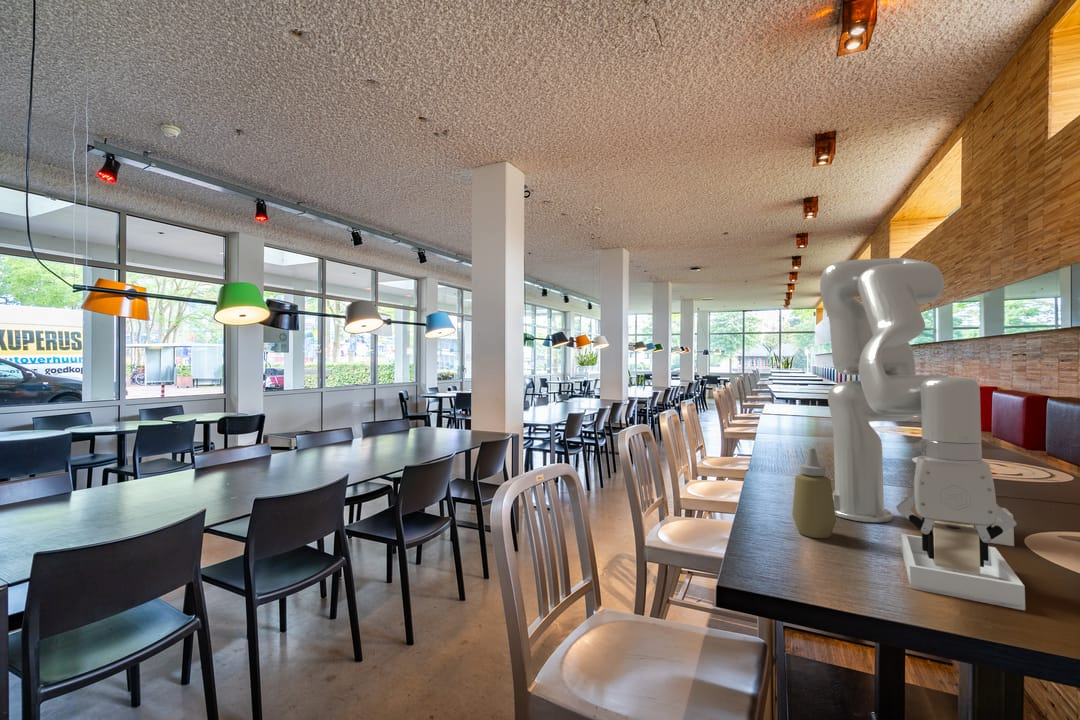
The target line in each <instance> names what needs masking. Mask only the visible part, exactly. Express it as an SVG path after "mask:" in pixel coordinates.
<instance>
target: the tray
mask: <svg viewBox="0 0 1080 720" xmlns="http://www.w3.org/2000/svg"><path fill="white" fill-rule="evenodd" d="M900 536H901V537H900V538H901V541H900V542H901V554H902V558H903V564H904V568H905V570H906V575H907V580H908V583H909V588H910V589H914V590H917V591H918V590H919V591H921V592H922V591H923V592H927V593H928V592H929V593H933V594H939V595H944V596H949V597H955V598H958V599H959V598H960V599H964V600H968V601H974V602H979V603H985V604H990V605H995V606H1000V607H1005V608H1009V609H1010V608H1011V609H1015V610H1020V611H1026V590H1025V588H1026V587H1025V585H1024V584H1023V582H1022V580H1020V577H1018V576H1017V574H1016V572H1015V571H1014V570H1013V569H1012V568H1011V566H1010V565H1009V563H1008V562H1007V561H1006V559H1005V558H1004V557H1003V556H1002V554H1001V553H1000V551H999V550H998V549H997V548H996V546H995V547H994V546H989V545H988V557H989V560H988V561H984V567H980V573H974V572H968V571H963V570H957V569H951V568H945V567H939V566H935V564H934V561H933V559H930V558H929V557H928V554H927V551H923V549H922V536H919V535H914V534H906V533H901V534H900Z"/></svg>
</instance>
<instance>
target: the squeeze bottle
mask: <svg viewBox="0 0 1080 720" xmlns="http://www.w3.org/2000/svg"><path fill="white" fill-rule="evenodd" d="M799 472H800V473H799V474H797V475H795V480H794V491H793V492H794V493H793V501H792V502H793V504H792V505H793V506H792V518H793V521H794V523H795V527H796V529H797V532H798V533H799V534H801V535H803V536H806V537H808V538H809V537H810V538H813V539H814V538H815V539H828V538H831V536H832V534H833V531H834V528H835V525H836V522H837V516H836V515H835V508H834V501H833V494H832V493H833V488H832V487H833V486H832V481H831V479H830V478H829V477H828V476H826V466H824V465H821V464H820V463H819V459H818V454H817V450H816V448H812V447H809V448H808V451H807V455H806V460H805V463H803V464H800V465H799Z"/></svg>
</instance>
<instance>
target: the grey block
mask: <svg viewBox="0 0 1080 720" xmlns="http://www.w3.org/2000/svg"><path fill="white" fill-rule="evenodd" d="M1001 508H1002V509H1003V510H1004V511H1005V512H1006V513H1007V514H1008V515H1009V516H1010V517H1011V518H1012V519H1014V514H1012V513H1011V512H1010V511H1009V510H1008V509H1007V508H1006V507H1001ZM999 520H1000V518H999V517H998V516H997V522H998V521H999ZM997 522H996V523H997ZM972 526H973V527H974V525H972ZM985 527H986V528H987V527H988V526H985ZM1014 527H1015V526H1014ZM1014 527H1012V528H1010V529H1008V530H1006V531H1004V532H1003V533H1002V534H1000V535H998V536H997V537H995V538H994V539H992V540H991V542H990V543H989V544H995V545H1004V546H1009V547H1010V546H1011V547H1015V536H1014V535H1015V534H1014V533H1015V531H1014ZM974 529H975V528H974Z"/></svg>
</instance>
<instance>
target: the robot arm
mask: <svg viewBox="0 0 1080 720" xmlns="http://www.w3.org/2000/svg"><path fill="white" fill-rule="evenodd" d="M944 279H945V278H944V276H943V274H942V272H941V270H940V269H939V268H938V267H937V266H936V265H935V264H934V263H931V262H929V261H924V260H923V261H922V260H918V259H912V258H907V257H889V258H888V257H887V258H869V259H868V258H866V259H863V258H861V259H851V260H842V261H838V262H834V263H832V264H830V265H828V266H827V267H825V268H824V270H823V271H822V273H821V276H820V283H819V289H820V290H819V291H820V297H821V300H822V304H823V306H824V310H825V311H826V313H827V317H828V320H829V331H830V347H831V358H832V363H833V367H834V369H835V371H836V372H837V373H839V374H841V375H845V376H859V380H847V381H842V382H841V381H840V382H837V383H835V384H834V385H832V387H830V389H829V390H828V394H827V404H828V408H829V412H830V416H831V422H832V431H833V433H832V434H833V463H834V489H833V492H832V494H833V501H834V508H835V515H836V517H839V518H843V519H846V520H851V521H857V522H863V523H887V522H890V521H892V520H893V513H892V512H891V511H890V510H888V509H886V508H885V499H884V497H885V496H884V466H883V465H884V462H883V459H884V458H883V443H882V439H881V437H880V435H879V434H878V433H877V431H876V430H875V429H874V427H872V426H871V424H870V423H871V422H905V421H909V420H911V419H913V418H914V417H920V418H921V440H919V441H916V442H915V441H911V442H910V443H911V445H910V447H911V450H912V451H917V452H920V453H921V455H919V456H917V458H916V461H915V470H914V478H913V491H912V493H911V494H910V495H908V496H907V497H906V498H904V499H903V500H902V501H901V502H899V504H897V505H896V510H897V512H898V513H900V514H901V515H902V516H903V517H904V518H905V519H907V520H909V522H911V524H913V525H914V526H915V527H916V528H917V529H918V530H919V531H920V532H921V537H922V549H923V551H927V554H928V557H929V558H930V559H933V558H934V537H933V534H932V530H931V528H932V526H933V524H934V522H935V521H942V522H949V523H957V524H965V525H974V528H975V530H976V532H977V533H978V534H979V544H980V567H984V561H988V560H989V557H988V546H989V544H991V543H990V542H991V540H992V539H994V538H995V537H997V536H998V535H1000V534H1002V533H1003V532H1004V531H1006V530H1008V529H1010V528H1012V527H1016V526H1017V522H1016V520H1015V519H1014V518H1013V519H1012V518H1011V517H1010V516H1009V515H1008V514H1007V513H1006V512H1005V511H1004V510H1003V509H1002V508H1003V507H1001V506H1000V505H999V504H998V503H997V499H996V489H995V483H994V477H993V473H992V468H991V466H990V463H989V462H988V461H986V460H983V452H982V447H983V446H982V424H981V423H982V421H981V420H982V419H981V418H982V417H981V390H980V385H979V382H977V380H975V379H973V378H970V377H954V376H953V377H952V376H948V375H941V374H940V375H939V374H936V375H935V374H933V375H932V374H931V375H930V374H928V375H927V374H921V375H920V374H916V361H915V355H914V352H913V348H912V346H911V343H910V342H911V341H912V340H914V339H916V338H917V337H919V336H920V335H921V334H922V333H924V330H925V328H926V322H925V319H924V317H923V314H922V313H921V309H920V308H919V305H918V304H927V303H928V304H929V303H933V302H935V301H937V300H938V299H939V298H940V297H941V295H942V294H943V293H944V288H945V280H944ZM855 297H860V299H861V302H862V303H861V302H860V301H859V300H858V299H856V298H855ZM912 507H914V509H915V511H916V513H917V515H916V513H914V512H912V511H911V510H910V508H912ZM918 515H919V516H920V517H921V518H920V517H918ZM997 516H998V517H999V518H1000V520H999V521H998V522H997ZM996 522H997V523H996ZM985 526H988V527H987V528H986V527H985Z"/></svg>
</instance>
